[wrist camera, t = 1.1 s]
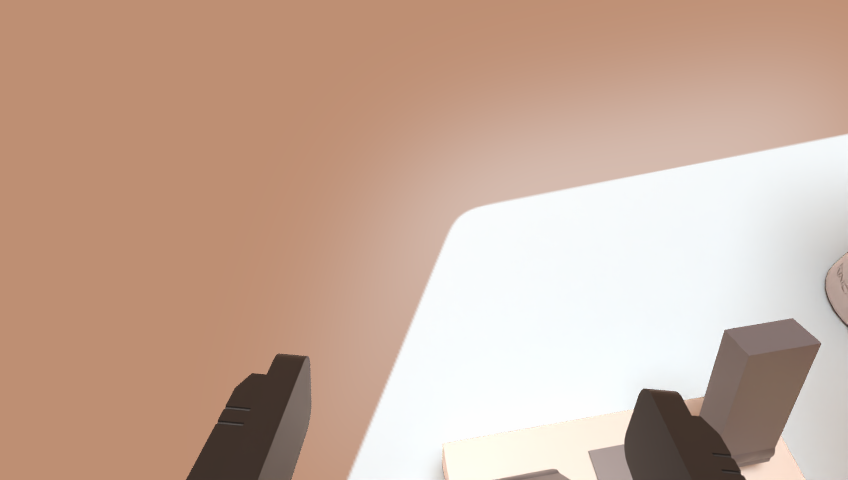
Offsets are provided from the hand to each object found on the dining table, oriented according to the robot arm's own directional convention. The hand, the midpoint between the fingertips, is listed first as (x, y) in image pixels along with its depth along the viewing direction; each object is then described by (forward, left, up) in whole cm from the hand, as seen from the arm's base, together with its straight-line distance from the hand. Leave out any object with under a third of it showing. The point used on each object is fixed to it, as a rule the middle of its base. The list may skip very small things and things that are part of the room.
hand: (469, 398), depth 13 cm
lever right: (-15, -5, -19) cm, 25 cm away
